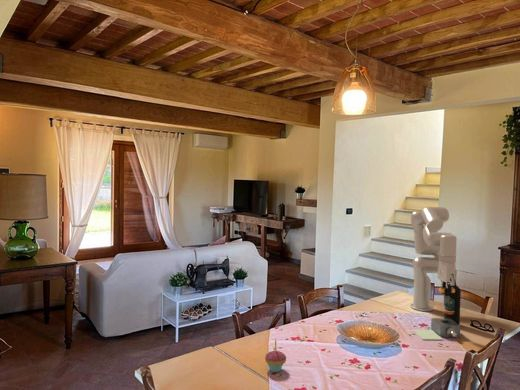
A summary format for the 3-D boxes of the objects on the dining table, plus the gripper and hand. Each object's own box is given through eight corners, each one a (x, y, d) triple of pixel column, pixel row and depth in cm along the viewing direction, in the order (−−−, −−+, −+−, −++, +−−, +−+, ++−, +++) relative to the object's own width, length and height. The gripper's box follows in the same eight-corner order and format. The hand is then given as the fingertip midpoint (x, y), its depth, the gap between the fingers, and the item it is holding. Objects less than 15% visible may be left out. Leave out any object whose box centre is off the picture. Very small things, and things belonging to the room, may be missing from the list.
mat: (412, 330, 199) (412, 329, 199) (431, 330, 199) (431, 329, 199) (422, 340, 187) (422, 338, 187) (442, 340, 187) (443, 339, 187)
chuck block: (431, 329, 201) (431, 318, 201) (449, 329, 201) (450, 318, 201) (444, 341, 186) (445, 328, 186) (465, 341, 186) (465, 329, 186)
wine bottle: (461, 327, 205) (463, 271, 204) (446, 326, 206) (448, 271, 205) (457, 322, 212) (458, 268, 211) (442, 321, 214) (444, 268, 213)
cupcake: (264, 364, 158) (264, 335, 158) (284, 364, 159) (284, 335, 159) (266, 374, 150) (266, 344, 150) (287, 374, 151) (288, 344, 150)
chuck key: (438, 304, 197) (438, 287, 197) (451, 304, 197) (452, 287, 197) (441, 306, 194) (441, 288, 194) (454, 306, 194) (454, 288, 194)
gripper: (433, 255, 203) (431, 290, 204) (448, 262, 187) (447, 299, 187) (447, 256, 203) (445, 290, 204) (463, 262, 187) (462, 299, 187)
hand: (446, 294), depth 196 cm, fingers closed on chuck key, 2 cm apart
